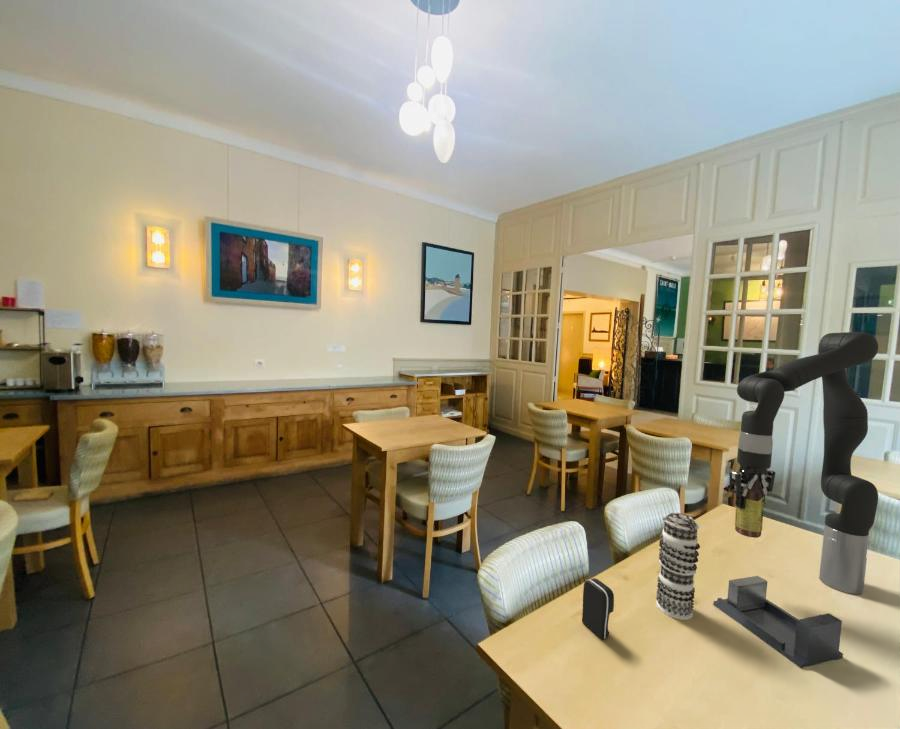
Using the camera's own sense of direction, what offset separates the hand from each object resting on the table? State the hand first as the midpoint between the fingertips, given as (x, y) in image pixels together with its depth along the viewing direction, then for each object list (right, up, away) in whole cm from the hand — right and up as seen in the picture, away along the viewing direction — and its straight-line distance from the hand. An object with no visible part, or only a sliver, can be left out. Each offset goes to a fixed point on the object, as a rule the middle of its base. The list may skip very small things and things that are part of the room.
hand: (749, 506), depth 111 cm
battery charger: (-49, -24, -16) cm, 57 cm away
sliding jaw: (-6, -24, -7) cm, 26 cm away
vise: (-5, -25, -14) cm, 29 cm away
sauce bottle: (0, -8, +1) cm, 8 cm away
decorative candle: (-26, -24, -7) cm, 36 cm away
